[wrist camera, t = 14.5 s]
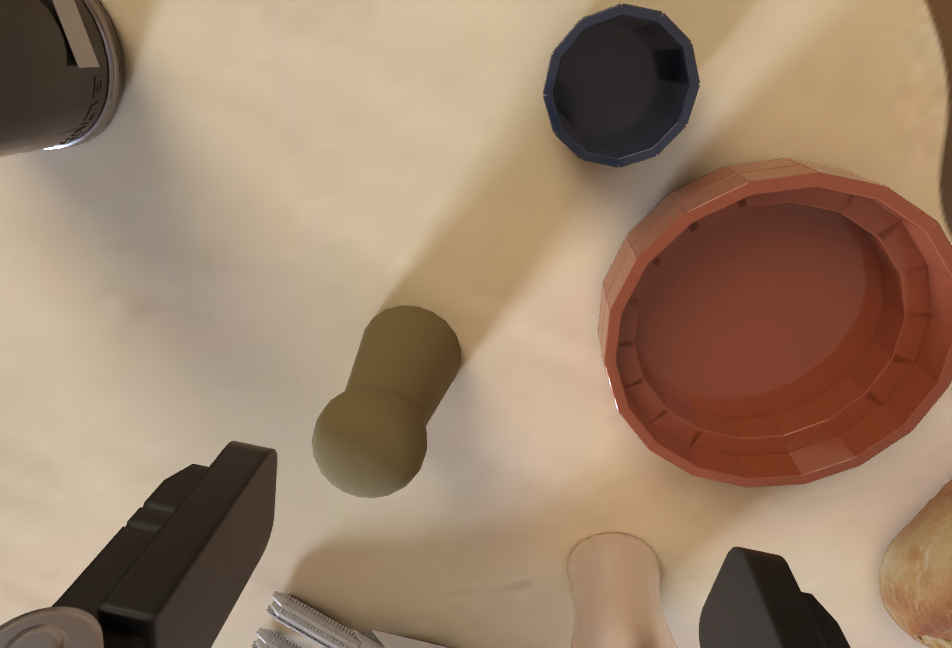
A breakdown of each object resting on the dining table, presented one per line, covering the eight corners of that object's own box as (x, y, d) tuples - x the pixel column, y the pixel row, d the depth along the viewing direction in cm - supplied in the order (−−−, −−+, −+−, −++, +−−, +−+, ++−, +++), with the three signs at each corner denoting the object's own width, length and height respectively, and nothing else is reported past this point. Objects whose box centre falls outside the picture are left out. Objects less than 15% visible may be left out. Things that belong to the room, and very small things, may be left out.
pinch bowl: (532, 136, 31) (530, 149, 27) (562, 0, 29) (565, -9, 25) (653, 162, 31) (670, 179, 27) (694, 28, 29) (719, 23, 24)
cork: (452, 300, 35) (414, 398, 25) (468, 393, 38) (439, 516, 28) (350, 311, 36) (275, 409, 26) (372, 400, 38) (311, 522, 28)
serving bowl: (537, 318, 35) (535, 353, 31) (777, 84, 29) (815, 88, 25) (729, 484, 38) (752, 537, 34) (983, 303, 32) (1048, 341, 28)
